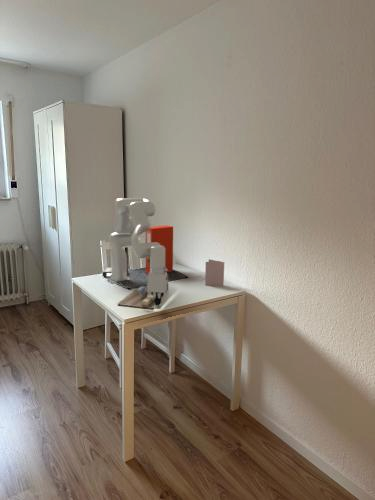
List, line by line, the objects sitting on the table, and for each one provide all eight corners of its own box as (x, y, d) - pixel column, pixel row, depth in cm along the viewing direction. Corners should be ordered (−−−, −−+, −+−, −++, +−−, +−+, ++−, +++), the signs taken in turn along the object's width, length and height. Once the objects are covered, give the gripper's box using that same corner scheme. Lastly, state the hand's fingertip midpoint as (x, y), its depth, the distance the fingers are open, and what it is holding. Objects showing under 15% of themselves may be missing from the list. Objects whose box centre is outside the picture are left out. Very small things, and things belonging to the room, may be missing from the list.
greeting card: (224, 285, 222) (225, 261, 219) (217, 288, 217) (218, 264, 213) (208, 281, 229) (209, 259, 226) (202, 284, 223) (202, 261, 220)
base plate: (117, 306, 186) (117, 303, 185) (134, 292, 206) (134, 290, 206) (152, 310, 181) (152, 307, 181) (165, 295, 202) (165, 293, 201)
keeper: (137, 297, 195) (137, 289, 194) (142, 292, 202) (142, 285, 201) (140, 297, 194) (140, 290, 194) (145, 293, 201) (145, 286, 200)
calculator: (125, 272, 235) (102, 271, 235) (125, 278, 236) (102, 277, 236) (128, 268, 246) (106, 266, 246) (128, 274, 247) (106, 272, 247)
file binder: (172, 271, 251) (173, 226, 244) (151, 275, 240) (151, 228, 233) (166, 269, 257) (166, 225, 250) (145, 272, 247) (145, 227, 240)
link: (151, 293, 199) (151, 290, 199) (162, 294, 198) (162, 291, 197) (138, 305, 182) (138, 301, 182) (150, 306, 181) (150, 302, 180)
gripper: (174, 269, 179) (174, 303, 183) (146, 267, 183) (146, 300, 187) (169, 273, 172) (169, 309, 176) (140, 270, 176) (141, 305, 180)
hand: (157, 304), depth 182 cm, fingers closed
